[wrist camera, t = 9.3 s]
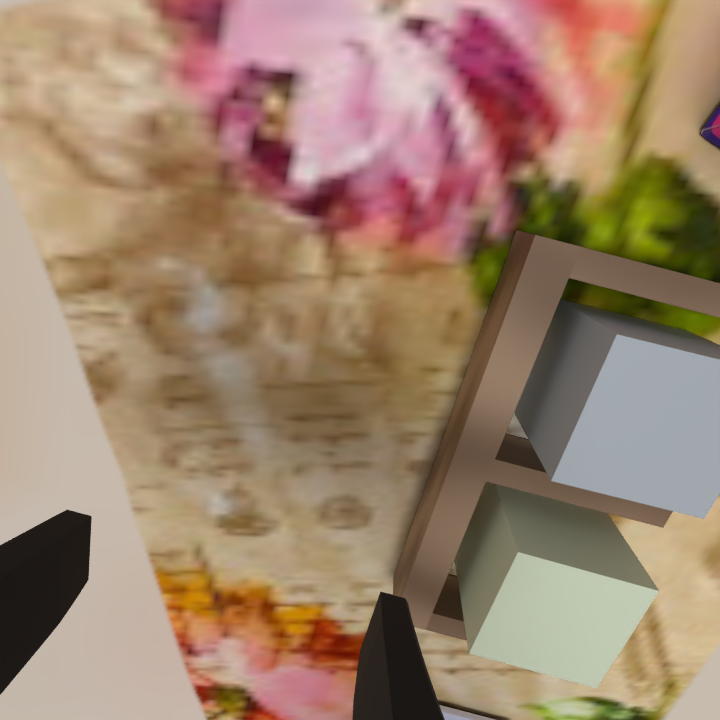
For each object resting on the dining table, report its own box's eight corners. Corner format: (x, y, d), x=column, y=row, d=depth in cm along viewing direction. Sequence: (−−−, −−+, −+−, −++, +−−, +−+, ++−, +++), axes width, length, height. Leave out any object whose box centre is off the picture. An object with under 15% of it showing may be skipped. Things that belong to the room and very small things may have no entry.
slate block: (629, 440, 19) (704, 518, 14) (513, 412, 19) (551, 480, 14) (685, 329, 17) (790, 377, 13) (558, 298, 17) (616, 334, 13)
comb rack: (559, 620, 22) (578, 669, 20) (393, 577, 22) (392, 621, 20) (740, 289, 17) (796, 303, 14) (516, 230, 17) (535, 234, 14)
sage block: (554, 583, 22) (596, 688, 17) (454, 556, 22) (469, 653, 17) (599, 500, 20) (659, 591, 15) (490, 470, 20) (517, 552, 15)
